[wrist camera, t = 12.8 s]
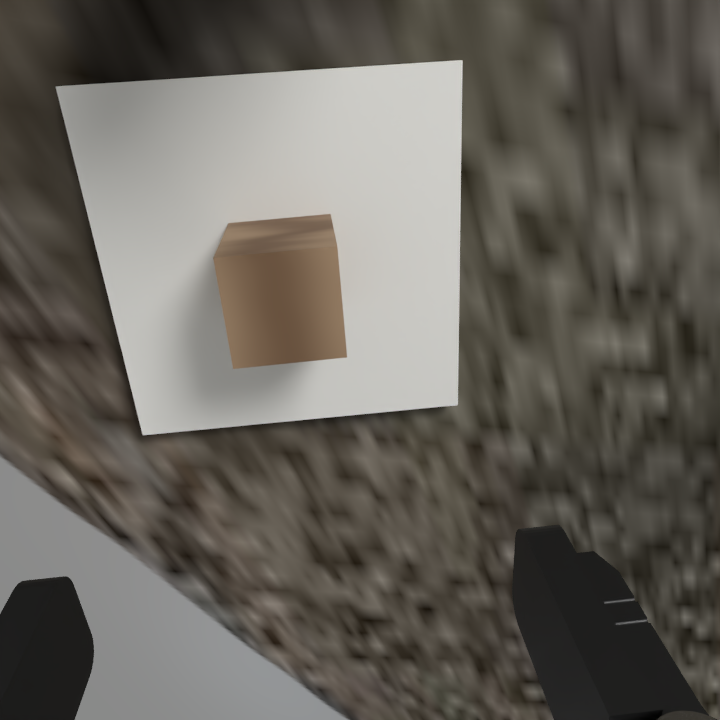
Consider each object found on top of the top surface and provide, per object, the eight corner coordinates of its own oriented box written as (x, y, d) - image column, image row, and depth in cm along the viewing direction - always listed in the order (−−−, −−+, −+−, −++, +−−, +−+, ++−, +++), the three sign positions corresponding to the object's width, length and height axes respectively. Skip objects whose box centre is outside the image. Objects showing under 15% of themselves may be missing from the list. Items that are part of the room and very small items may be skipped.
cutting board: (456, 60, 29) (462, 60, 28) (453, 395, 37) (457, 405, 36) (64, 85, 28) (55, 86, 27) (147, 424, 36) (142, 435, 35)
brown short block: (330, 213, 30) (337, 246, 25) (339, 308, 33) (347, 357, 27) (228, 223, 30) (213, 257, 25) (243, 318, 32) (233, 369, 27)
